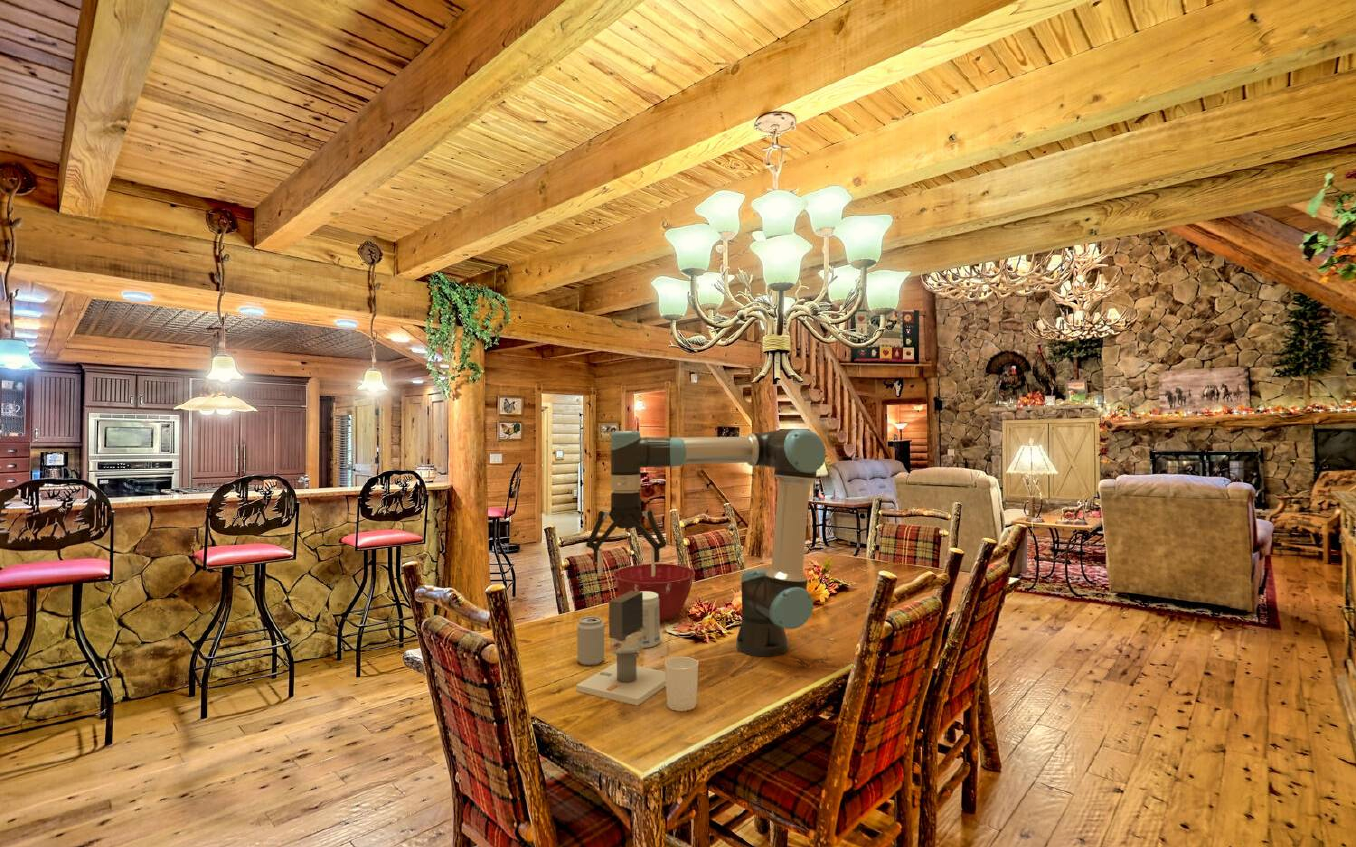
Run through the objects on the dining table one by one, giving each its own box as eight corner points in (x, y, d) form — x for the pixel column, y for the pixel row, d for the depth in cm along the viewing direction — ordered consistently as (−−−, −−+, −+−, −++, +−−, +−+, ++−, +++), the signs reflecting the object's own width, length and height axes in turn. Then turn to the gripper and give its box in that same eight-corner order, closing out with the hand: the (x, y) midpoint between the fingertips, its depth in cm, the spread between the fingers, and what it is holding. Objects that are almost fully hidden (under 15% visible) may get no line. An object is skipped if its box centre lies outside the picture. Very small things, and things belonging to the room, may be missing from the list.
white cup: (674, 715, 142) (674, 671, 142) (659, 702, 149) (658, 660, 149) (704, 708, 146) (704, 664, 146) (688, 696, 153) (688, 654, 153)
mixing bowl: (685, 631, 203) (684, 583, 203) (601, 625, 210) (601, 579, 210) (702, 607, 230) (702, 565, 231) (627, 603, 237) (627, 562, 237)
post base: (675, 679, 163) (674, 644, 163) (637, 705, 148) (637, 667, 148) (617, 667, 172) (617, 634, 172) (576, 691, 156) (576, 654, 156)
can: (608, 658, 179) (608, 616, 179) (596, 668, 172) (596, 623, 172) (585, 655, 181) (584, 613, 181) (572, 665, 174) (572, 621, 174)
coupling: (623, 639, 167) (623, 590, 167) (650, 643, 163) (650, 593, 164) (599, 654, 156) (599, 601, 156) (628, 658, 152) (627, 604, 153)
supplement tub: (647, 636, 198) (647, 589, 198) (666, 644, 191) (666, 595, 191) (621, 643, 192) (621, 594, 192) (640, 651, 185) (639, 600, 185)
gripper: (574, 493, 158) (574, 578, 157) (673, 492, 156) (674, 578, 156) (580, 490, 165) (581, 571, 165) (675, 489, 164) (676, 571, 163)
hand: (626, 575), depth 160 cm, fingers open, 13 cm apart
